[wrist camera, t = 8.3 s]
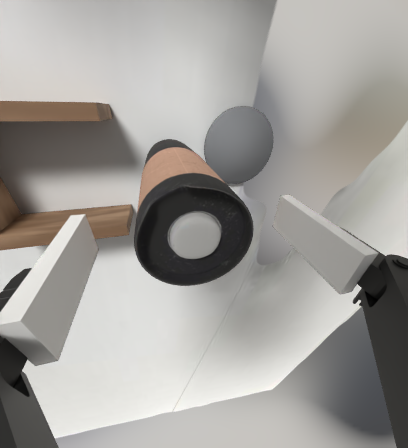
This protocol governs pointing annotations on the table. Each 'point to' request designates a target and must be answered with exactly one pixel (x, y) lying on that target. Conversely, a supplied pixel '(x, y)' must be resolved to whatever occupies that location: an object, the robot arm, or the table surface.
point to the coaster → (238, 144)
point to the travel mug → (188, 218)
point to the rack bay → (53, 221)
